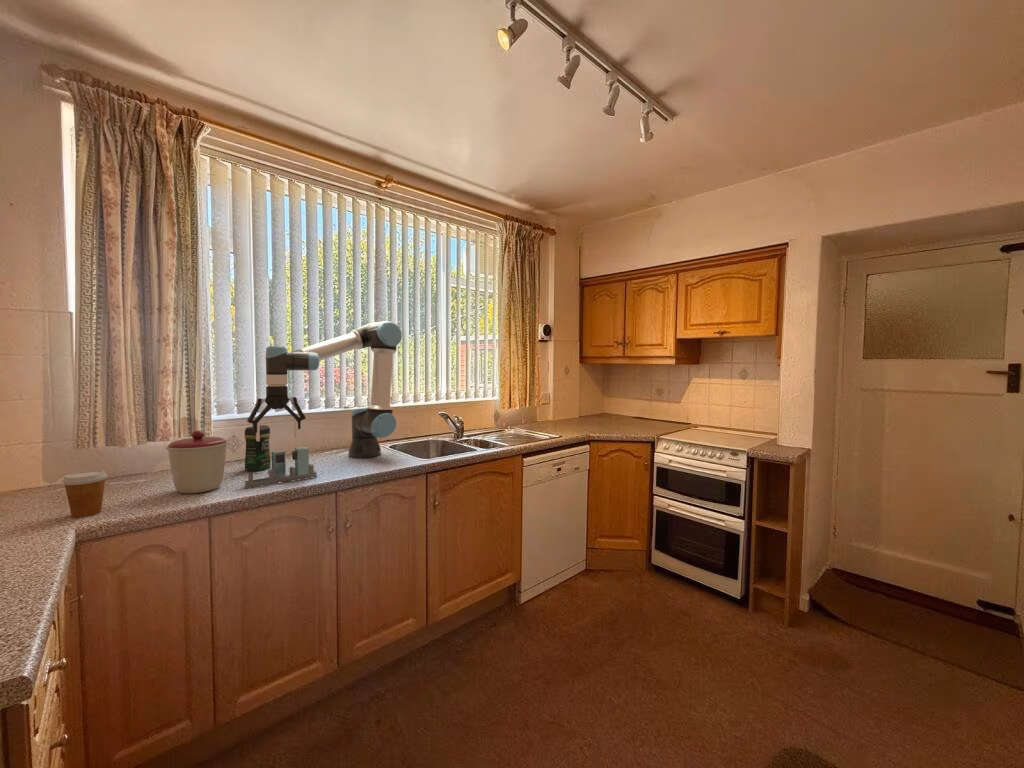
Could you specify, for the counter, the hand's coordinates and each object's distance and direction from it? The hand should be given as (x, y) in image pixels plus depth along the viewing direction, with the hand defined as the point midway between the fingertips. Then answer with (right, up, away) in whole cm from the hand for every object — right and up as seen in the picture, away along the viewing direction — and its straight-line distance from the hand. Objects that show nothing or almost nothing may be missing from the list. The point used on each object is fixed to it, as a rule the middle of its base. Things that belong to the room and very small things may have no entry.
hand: (277, 439), depth 172 cm
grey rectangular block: (0, -15, +1) cm, 15 cm away
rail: (+6, -15, -7) cm, 18 cm away
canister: (-18, -16, -18) cm, 30 cm away
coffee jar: (-15, -14, +12) cm, 24 cm away
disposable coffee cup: (-33, -17, -43) cm, 57 cm away
